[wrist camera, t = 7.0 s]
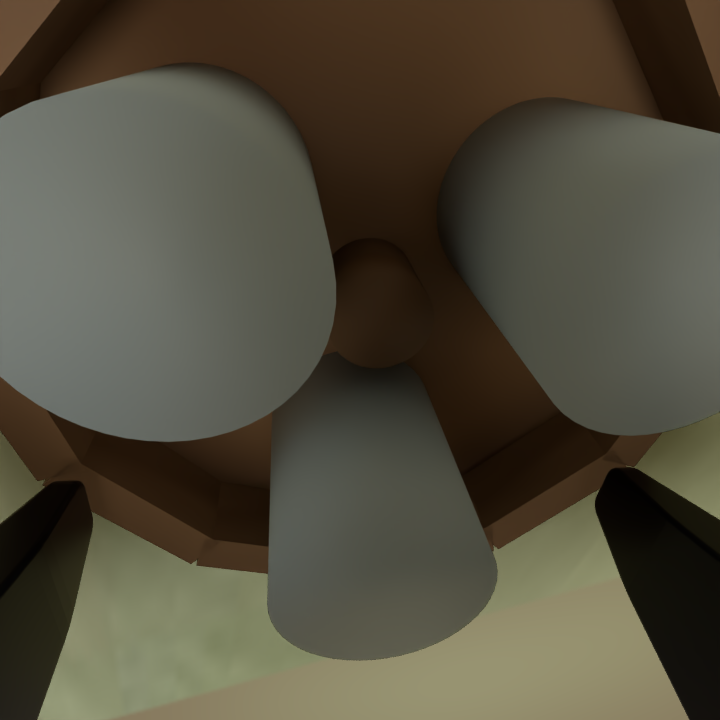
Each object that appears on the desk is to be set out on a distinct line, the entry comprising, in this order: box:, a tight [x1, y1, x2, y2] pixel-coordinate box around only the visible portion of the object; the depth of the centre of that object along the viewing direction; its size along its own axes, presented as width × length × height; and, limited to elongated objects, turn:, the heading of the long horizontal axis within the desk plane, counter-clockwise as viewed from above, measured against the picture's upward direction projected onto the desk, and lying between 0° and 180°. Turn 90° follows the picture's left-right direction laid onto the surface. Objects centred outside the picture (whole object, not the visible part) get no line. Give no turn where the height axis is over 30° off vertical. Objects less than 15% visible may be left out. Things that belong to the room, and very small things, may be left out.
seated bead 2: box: [437, 97, 720, 436], centre depth 7 cm, size 3×3×4 cm
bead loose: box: [267, 351, 498, 660], centre depth 9 cm, size 3×3×4 cm
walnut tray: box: [0, 0, 720, 574], centre depth 9 cm, size 12×12×2 cm
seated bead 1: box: [0, 62, 336, 442], centre depth 6 cm, size 3×3×4 cm
